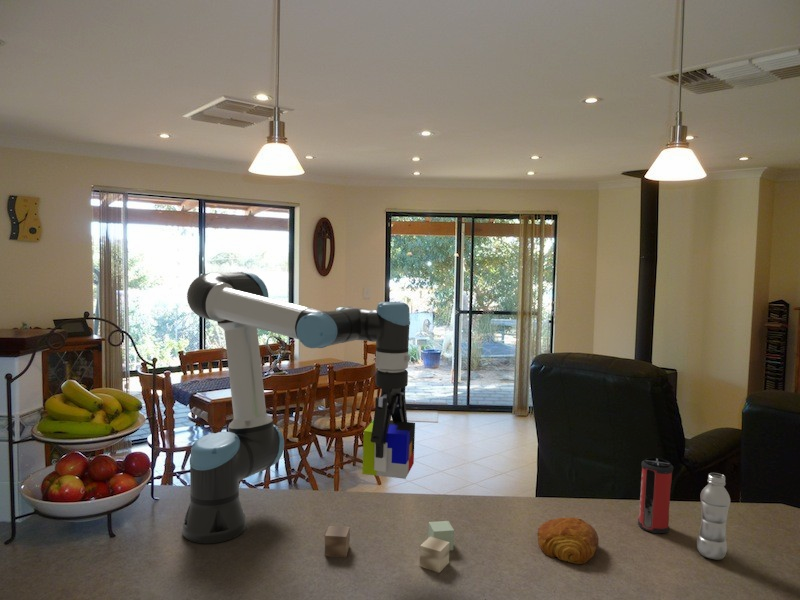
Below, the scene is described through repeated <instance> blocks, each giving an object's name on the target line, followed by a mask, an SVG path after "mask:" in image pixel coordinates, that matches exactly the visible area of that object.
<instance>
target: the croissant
mask: <svg viewBox="0 0 800 600" xmlns="http://www.w3.org/2000/svg"><path fill="white" fill-rule="evenodd" d="M536 535H537V541H538V542H537V543H538V547H539V548H540V549H541V551H542V552H543V553H544V554H545V555H546V556H549V557H550V558H556V557H557V559H559V560H561V561H564V562H567V561H568V563H572V564H575V565H580V564H582V565H583V564H585V563H587V562H588V561H590V559H591V558H593V557H594V555H595V552H596V550H597V547H598V546H599V536H598V533H597V531H596V529H595V528H594V527H593V526H592V525H591V524H589V523H588V522H586V521H585V520H583V519H582V518H579V517H568V516H567V517H558V518H553V519H549V520H547V521H545V522H544V523H542V524H540V526H539V527H538V528H537V533H536Z"/></svg>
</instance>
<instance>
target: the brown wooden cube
mask: <svg viewBox="0 0 800 600" xmlns="http://www.w3.org/2000/svg"><path fill="white" fill-rule="evenodd" d="M350 535H351V527H350V526H343V525H342V526H341V525H338V526H337V525H328V527H327V530H326V532H325V535H324V557H334V558H335V557H336V558H347V554H348V552H349V549H350V541H351V540H350Z"/></svg>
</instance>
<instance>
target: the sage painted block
mask: <svg viewBox="0 0 800 600" xmlns="http://www.w3.org/2000/svg"><path fill="white" fill-rule="evenodd" d="M427 533H428V536H427V539H428V538H429V537H433V538H437V539H440V540H444V541H447V542H450V545H449V551H454V538H455V529H454V528H453V526H452V525H451V523H450V521H449V520H442V521H429V522H428V531H427Z"/></svg>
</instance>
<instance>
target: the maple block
mask: <svg viewBox="0 0 800 600" xmlns="http://www.w3.org/2000/svg"><path fill="white" fill-rule="evenodd" d="M449 545H450V542H447V541H444V540H440V539H437V538H433V537H429V538H428V537H427V539H426V540H424V541H423V542H422V544H420V545H419V567H420V568H422V569H423V568H424V569H426V570H429V571H433V572H436V573H439V574H440V573H441V572H442V571H443V569H445V568H446V567H447V566H448V565H449V563H450V561H449V560H450V550H449Z"/></svg>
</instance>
